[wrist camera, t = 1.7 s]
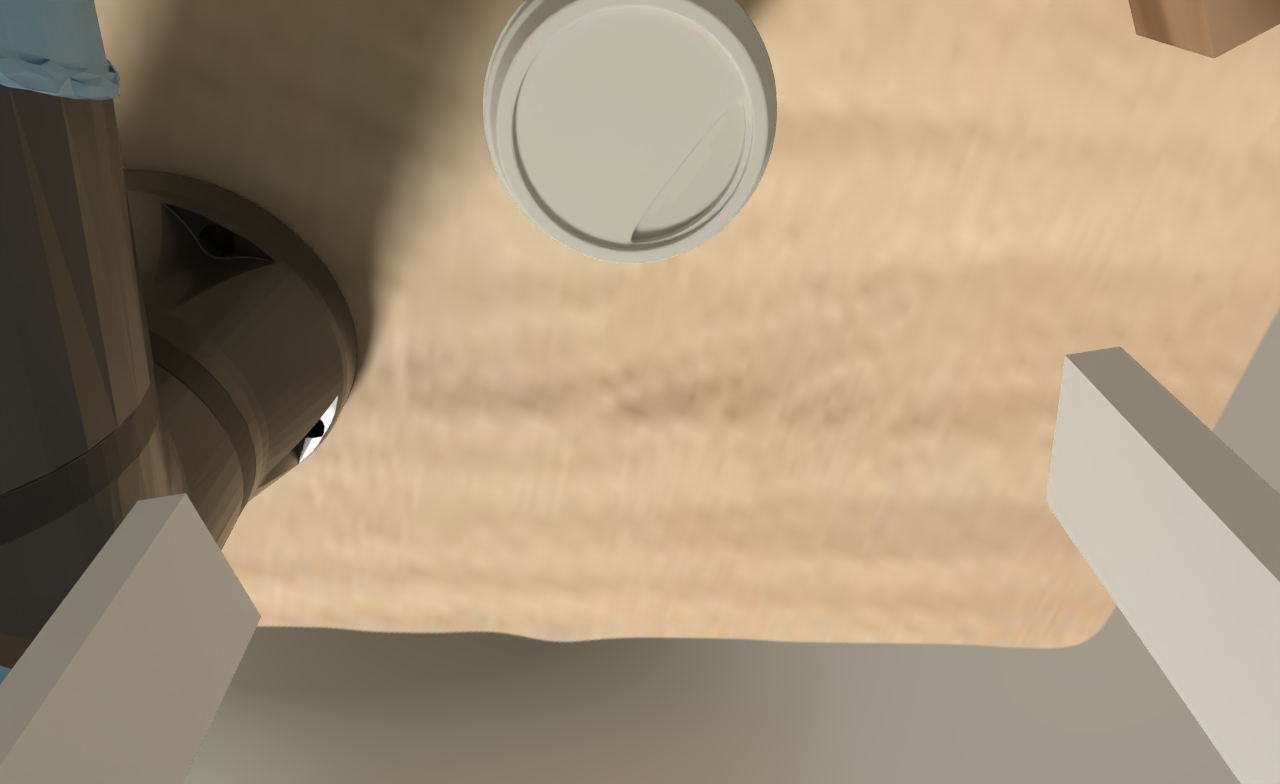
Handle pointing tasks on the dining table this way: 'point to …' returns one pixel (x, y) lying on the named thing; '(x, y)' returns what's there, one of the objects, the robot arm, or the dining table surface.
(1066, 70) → the dining table surface
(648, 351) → the dining table surface
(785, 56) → the dining table surface
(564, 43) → the coffee cup
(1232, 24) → the walnut block
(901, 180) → the dining table surface
